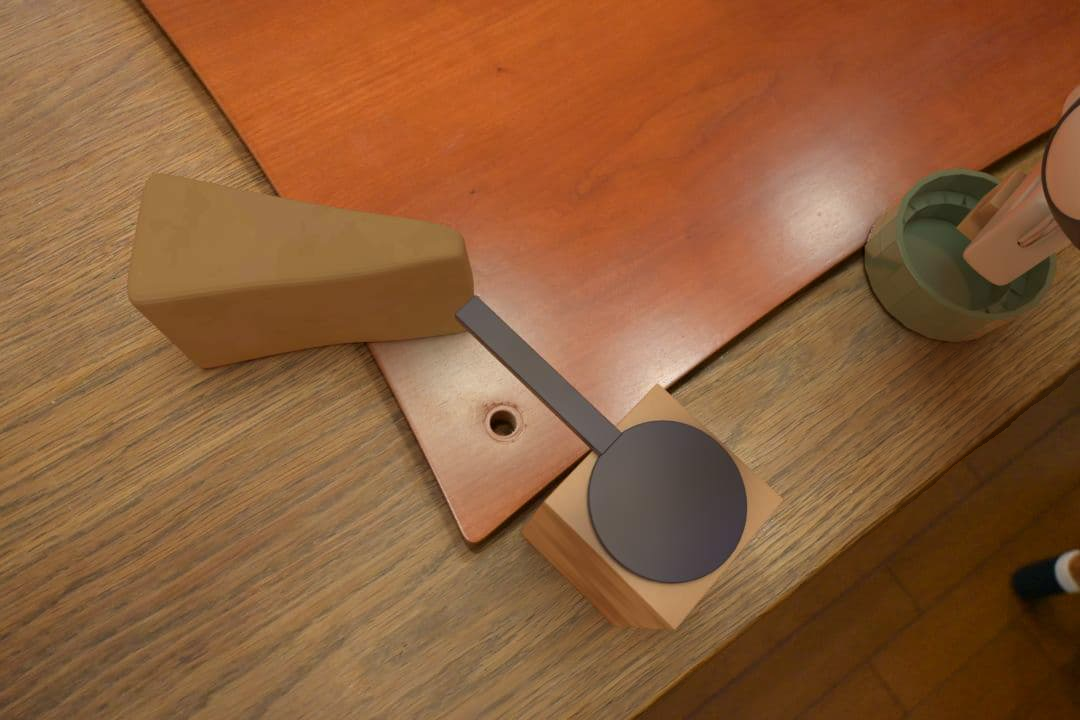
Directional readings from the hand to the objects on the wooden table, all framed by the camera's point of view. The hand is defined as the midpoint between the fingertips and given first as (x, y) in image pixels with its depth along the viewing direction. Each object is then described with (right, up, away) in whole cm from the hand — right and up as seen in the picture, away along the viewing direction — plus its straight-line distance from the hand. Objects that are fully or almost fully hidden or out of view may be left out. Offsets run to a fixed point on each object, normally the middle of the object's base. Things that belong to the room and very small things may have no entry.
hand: (1002, 222), depth 63 cm
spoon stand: (-36, -21, -1) cm, 42 cm away
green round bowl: (-1, -3, +9) cm, 9 cm away
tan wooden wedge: (-54, -8, +2) cm, 55 cm away
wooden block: (0, 0, +1) cm, 1 cm away
